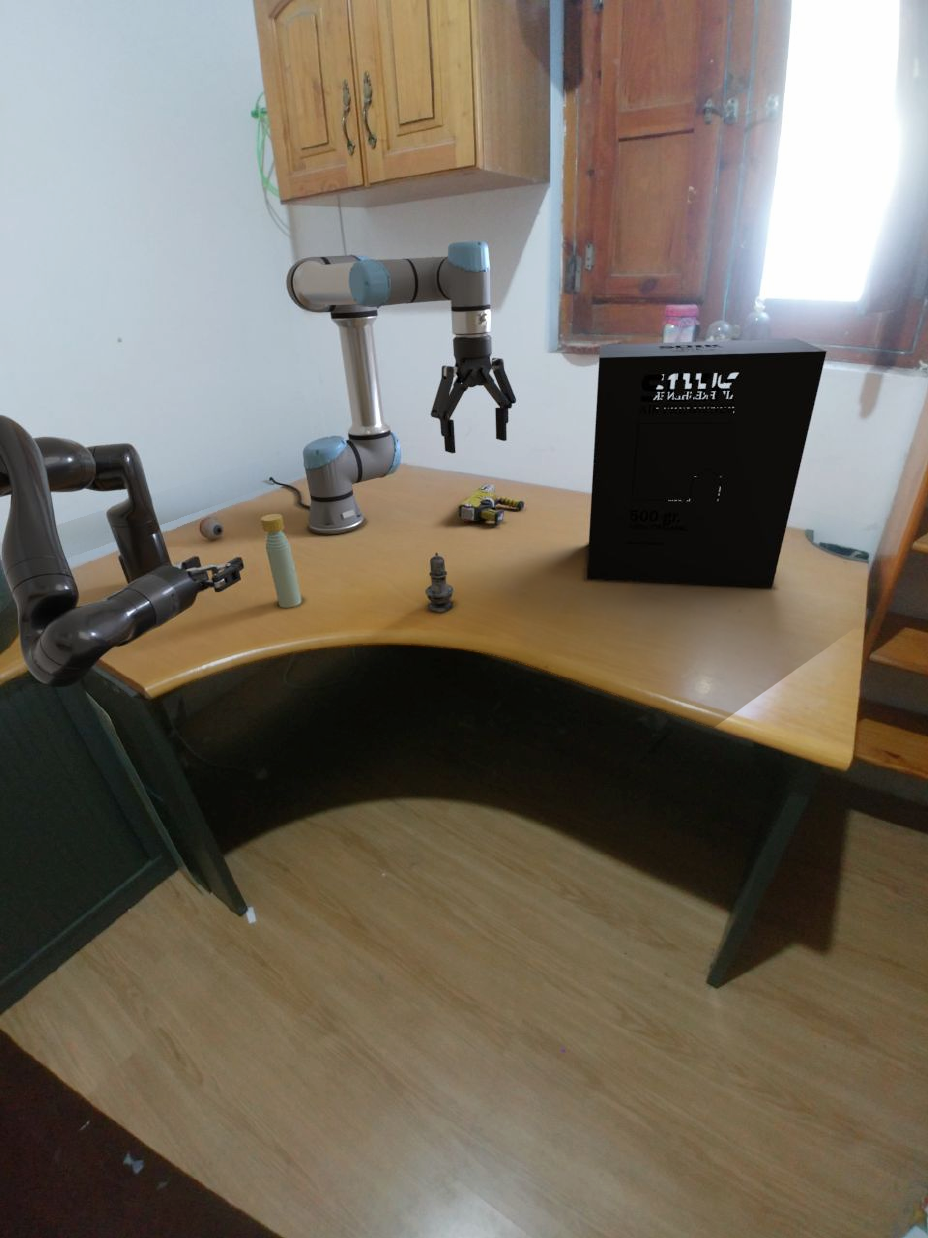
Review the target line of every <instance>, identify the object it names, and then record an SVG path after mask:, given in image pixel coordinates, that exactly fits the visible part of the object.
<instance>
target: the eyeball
mask: <svg viewBox="0 0 928 1238" xmlns="http://www.w3.org/2000/svg"><path fill="white" fill-rule="evenodd" d="M198 529H199V533H200V534H201V535H202V537H203V538H205V539H206V540H210V541H211V540H212V541H213V540H217V539H219V538H221V537H222V535H223V533H224V525H223V522H222V521H221V520H219V519H218V518H216V517H210V516H209V517H206V518H204V519H203V520H201V522H200V523H199V528H198Z"/></svg>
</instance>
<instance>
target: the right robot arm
mask: <svg viewBox="0 0 928 1238" xmlns="http://www.w3.org/2000/svg"><path fill="white" fill-rule="evenodd" d="M490 263H491V262H490V252H489V245H488V244H487V242H485V241H484V240H466V241H455V242H451V243H450V244H449V245H448V247H447V256H431V257H430V256H427V257H413V258H411V257H410V258H391V259H390V258H386V259H374V258H370V257H369V256H367V255H358V254H349V255H328V256H326V255H325V256H310V257H305V258H302V259H300V260H298V261H296V262H295V263H293V265H291V267H290V268H289V269H288V272H287V275H286V281H285V282H286V283H285V284H286V285H285V286H286V290H287V293H288V296H289V297H290V299H291V300H292V303H294V304H295V305H296V306H298V307H299V308H300V309H302V310H304V311H306V312H310V313H318V314H319V313H320V314H321V313H330V320H331V321H332V322H333V323H334V324H335V325H336V326H337V327H338V332H339V333H338V334H339V339H340V347H341V355H342V361H343V369H344V375H345V382H346V383H345V384H346V389H347V396H348V404H349V410H350V418H351V425H350V426H349V428H348V430H347V436H348V439H345V437H343V436H341V435H332V436H324V437H321V438H318V439H315V440H312V441H311V442H309V443H308V444H306V445H305V446H304V448H303V450H302V457H303V459H302V460H303V467H304V471H305V476H306V481H307V486H308V492H309V498H310V505H308V504H304V503H303V502H302V494H301V492H300V490H299V489H297V488H296V487H295V486H292V485H291V484H287V483H281V482H278V481H276V480H275V479H274V478H273V477H272V476H269V478H268V481H272V482H273V483H274V484H275V485H278V486H282V487H285V488H290V489H292V490H293V491H295V492H296V493H297V495H298V504H299V505H300V506H301V507H303V508H306V509H309V513H308V521H307V522H308V523H307V524H308V528H309V529H308V530H310V531H311V532H312V533H314V534H317V535H323V536H324V535H325V536H327V535H329V536H331V535H339V534H340V535H341V534H345V533H350V532H353V531H355V530H357V529H359V528H361V527H362V526H363V525H364V523H365V519H364V514H363V512H362V510H361V508H360V505H359V504H358V501H357V500H356V498H355V495H354V489H353V485H354V484H355V485H356V484H359V483H363V482H368V481H371V480H375V479H381V478H385V477H387V476H390V475H392V474H394V473H396V472H397V470H398V469H399V467H400V465H401V462H402V446H401V443H400V441H399V437H398V436H397V435H396V434H395V432H394V431H391V426H390V425H388V423H386V422H385V420H384V419H385V418H384V410H383V402H382V393H381V385H380V377H379V368H378V367H379V366H378V358H377V349H376V341H375V331H374V324H375V322H376V320H377V319H378V317H379V314H378V309H379V308H381V307H385V306H394V305H403V304H405V305H406V304H417V303H419V304H420V303H427V302H428V303H429V302H444V301H448V302H449V301H450V311H451V313H450V314H451V315H450V316H451V334H453V335H454V337H453V339H452V350H453V358H454V359H455V363H454V366H452V365H442V366H441V373H440V374H441V375H440V376H441V377H440V381H439V384H438V388H437V390H436V395H435V398H434V401H433V404H432V407H431V411H430V416H431V418H435V419H438V421H439V426H440V435H441V437H443V441H444V442H443V443H444V452H446V453H450V454H456V433H455V420H454V419H451V418H452V416H453V414H454V413H455V410H456V409H457V406H458V404H459V402H460V401H461V399H462V397H463V396H464V393H465V392H466V391H468V389H469V388H474V387H477V386H478V387H482V386H483V387H484V389H485V390H486V391H487V392H488V394H489V396H491V398H492V399H493V401H494V402H495V403H496V405H497V406H498V407H495V408H494V410H495V411H494V413H495V414H494V415H495V439H496V440H499V441H502V442H507V441H508V438H507V435H508V433H507V424H509V410H510V409H512V407H513V404H516V403H517V398H516V394H515V393H514V390H513V388H512V385H511V383H510V380H509V378H508V375H507V373H506V370H505V363H504V362H505V361H504V359H503V358H499V357H493V358H491V356H492V354H493V346H492V344H493V343H492V340H493V339H492V336H491V335H489V333H491V332H492V315H491V314H492V312H491V311H492V309H491V264H490ZM491 370H492V374H493V376H494V378H493V376H492V375H491ZM455 377H456V378H455ZM454 378H455V380H454ZM495 381H496V383H497V384H496V383H495Z"/></svg>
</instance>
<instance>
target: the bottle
mask: <svg viewBox="0 0 928 1238" xmlns="http://www.w3.org/2000/svg"><path fill="white" fill-rule="evenodd" d="M266 533H267V534H266V537H265V538H266V539H265V550H266V554H267V559H268V564H269V568H270V573H271V577H272V581H273V584H274V589H275V593H276V597H277V601H278V602H277V603H278V605H279V607H281V608H285V609H288V608H294V607H298V606H299V605H300V604H301V603H302V597H301V596H302V595H301V591H300V586H299V582H298V577H297V572H296V568H295V563H294V558H293V554H292V549H291V544H290V541H289V540H288V538H287V536H286V534H285V533H284V531H283V529H282V530H280V531H277V532H266Z"/></svg>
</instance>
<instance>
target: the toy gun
mask: <svg viewBox="0 0 928 1238" xmlns="http://www.w3.org/2000/svg"><path fill="white" fill-rule="evenodd" d="M495 489H496V486H495V484H493V483H490V485H489V483H488V482H486V483H485V484H483V485H482V486H481V487H480V488H478V489H476V490H475V491H474V492H473V493H472V494H470V495H469V496H468V497H467V498H466V499H465V500H464V501H463V502H462V503H461V504H460V505H458V513H457V517H458V518H459V519H460V520H463V522H469V523H470V521H471V522H478V521H481V520H482V521H483V520H488V521H492V522H494V525H500V524H501V523H502V522H503V521H504V516H505V510H504V509H502V508H501V509H499V510H498V509H497V507H496V506H498V505H500V506H505V507H509V508H513V509H514V508H515V509H517V510H519V511H520V510H523V509H524V508H525V502H524V501H523V500H517V499H513V498H509V497H505V496H500V498H498V496H497V495H496V493H495Z"/></svg>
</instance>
